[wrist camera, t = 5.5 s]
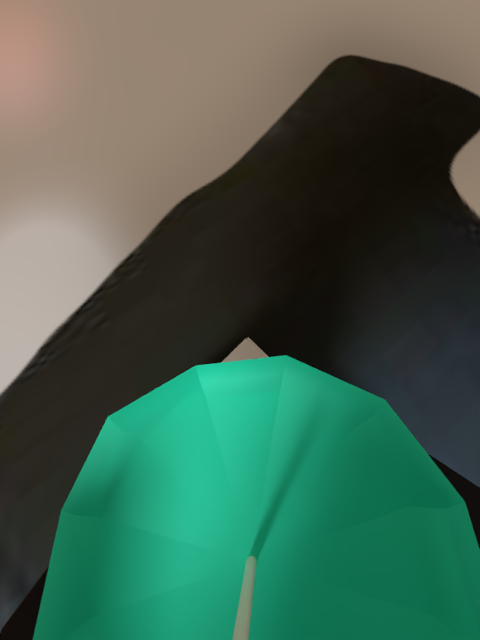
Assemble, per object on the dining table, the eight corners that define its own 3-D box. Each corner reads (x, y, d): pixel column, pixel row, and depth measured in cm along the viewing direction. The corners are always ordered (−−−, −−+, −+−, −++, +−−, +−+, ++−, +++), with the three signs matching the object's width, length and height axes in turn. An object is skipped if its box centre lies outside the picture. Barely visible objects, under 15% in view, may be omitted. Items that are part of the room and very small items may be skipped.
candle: (339, 411, 14) (608, 380, 3) (323, 560, 13) (818, 1890, 1) (216, 385, 15) (55, 286, 4) (186, 521, 13) (-271, 1063, 2)
